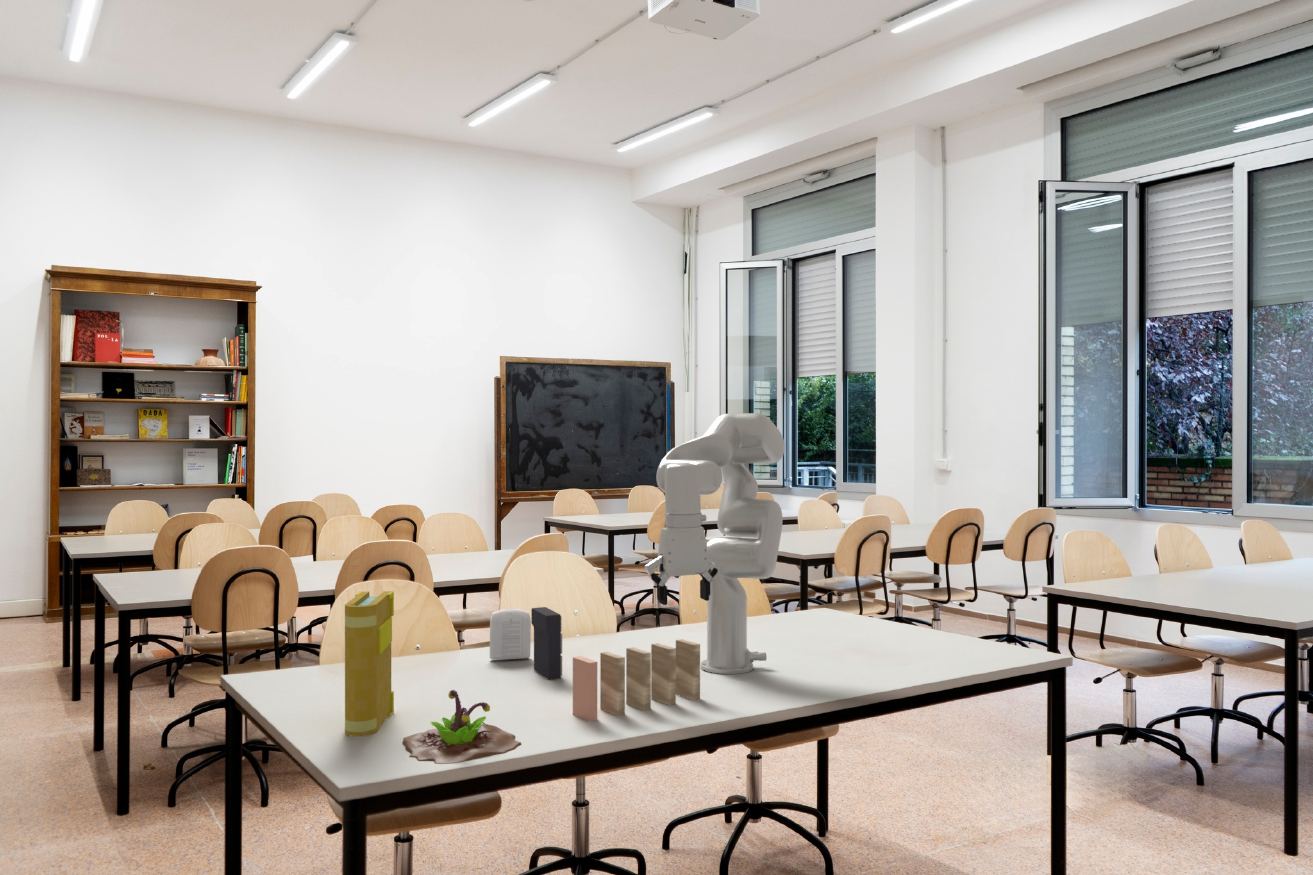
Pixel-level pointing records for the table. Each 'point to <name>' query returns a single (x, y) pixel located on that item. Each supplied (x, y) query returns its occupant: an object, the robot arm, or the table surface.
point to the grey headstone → (510, 634)
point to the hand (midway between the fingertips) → (684, 601)
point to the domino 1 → (585, 688)
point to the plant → (460, 738)
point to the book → (368, 662)
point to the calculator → (547, 642)
